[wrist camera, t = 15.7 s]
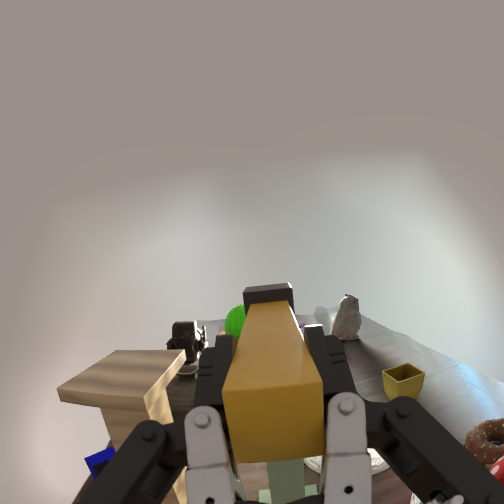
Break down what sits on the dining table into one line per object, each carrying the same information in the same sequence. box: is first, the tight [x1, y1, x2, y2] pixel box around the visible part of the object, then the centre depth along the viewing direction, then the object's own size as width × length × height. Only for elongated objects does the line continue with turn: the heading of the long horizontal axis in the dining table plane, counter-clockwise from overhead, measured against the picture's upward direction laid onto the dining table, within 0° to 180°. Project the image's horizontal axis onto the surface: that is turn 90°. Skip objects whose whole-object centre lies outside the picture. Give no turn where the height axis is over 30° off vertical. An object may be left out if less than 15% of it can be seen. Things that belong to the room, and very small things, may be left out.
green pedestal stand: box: [259, 458, 318, 504], centre depth 35 cm, size 10×10×26 cm
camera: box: [167, 321, 208, 361], centre depth 132 cm, size 25×18×18 cm
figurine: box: [330, 294, 361, 341], centre depth 128 cm, size 14×16×20 cm
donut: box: [464, 418, 504, 469], centre depth 32 cm, size 14×14×5 cm
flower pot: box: [382, 363, 425, 401], centre depth 64 cm, size 9×9×9 cm
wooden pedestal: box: [57, 349, 188, 504], centre depth 29 cm, size 14×10×32 cm
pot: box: [165, 365, 199, 422], centre depth 61 cm, size 18×18×20 cm
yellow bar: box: [222, 283, 324, 463], centre depth 18 cm, size 20×4×4 cm, turn 177°
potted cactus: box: [219, 305, 246, 345], centre depth 113 cm, size 22×22×25 cm
